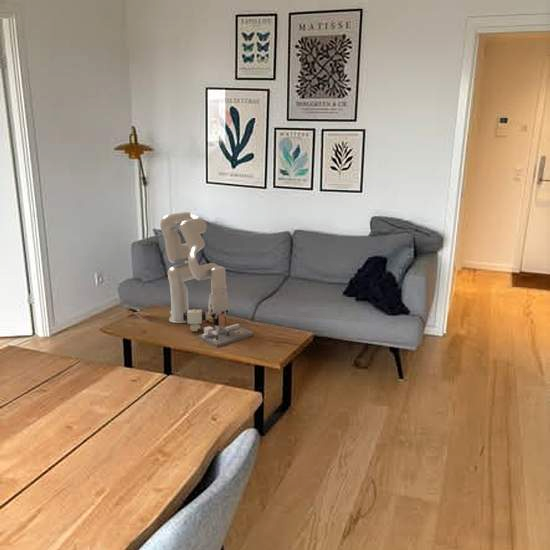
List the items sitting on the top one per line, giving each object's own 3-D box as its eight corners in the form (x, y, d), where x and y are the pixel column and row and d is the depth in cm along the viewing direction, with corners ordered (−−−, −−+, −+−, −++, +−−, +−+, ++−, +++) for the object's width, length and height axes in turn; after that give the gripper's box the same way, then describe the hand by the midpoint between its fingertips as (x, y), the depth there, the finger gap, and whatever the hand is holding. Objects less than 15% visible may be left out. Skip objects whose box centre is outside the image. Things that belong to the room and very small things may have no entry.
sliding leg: (214, 331, 283) (213, 313, 280) (220, 329, 286) (220, 312, 283) (225, 336, 276) (225, 318, 274) (231, 334, 279) (231, 316, 276)
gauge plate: (198, 338, 279) (197, 327, 277) (234, 327, 295) (234, 316, 293) (216, 347, 268) (216, 336, 266) (253, 335, 283) (253, 324, 282)
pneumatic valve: (206, 331, 288) (205, 310, 285) (184, 332, 288) (182, 310, 285) (206, 327, 294) (205, 306, 291) (184, 328, 293) (183, 307, 290)
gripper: (227, 285, 285) (228, 318, 290) (200, 292, 274) (202, 326, 279) (236, 288, 280) (236, 322, 285) (209, 295, 269) (210, 330, 274)
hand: (219, 323), depth 282 cm, fingers closed on sliding leg, 4 cm apart
